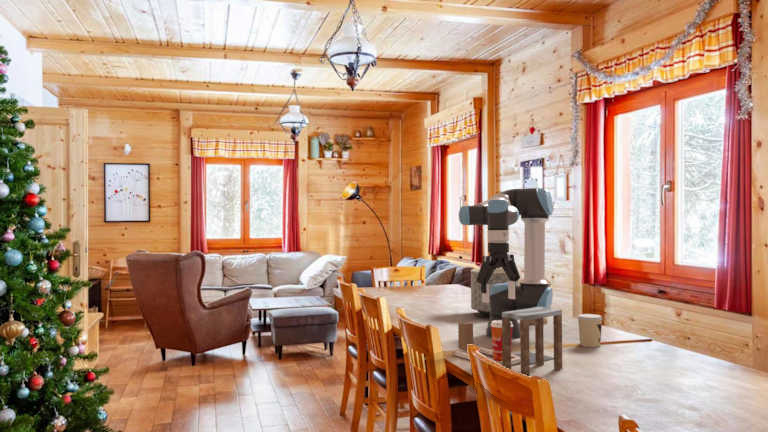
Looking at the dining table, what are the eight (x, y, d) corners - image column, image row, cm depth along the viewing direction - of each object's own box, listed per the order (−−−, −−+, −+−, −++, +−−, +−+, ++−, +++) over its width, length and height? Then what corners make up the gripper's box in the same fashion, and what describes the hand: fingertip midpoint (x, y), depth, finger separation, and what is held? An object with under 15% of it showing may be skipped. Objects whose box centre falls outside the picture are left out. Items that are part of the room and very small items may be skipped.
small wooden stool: (502, 372, 203) (501, 312, 203) (539, 363, 214) (538, 306, 214) (525, 378, 195) (524, 316, 195) (562, 369, 206) (561, 310, 206)
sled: (450, 354, 229) (450, 324, 229) (474, 349, 236) (473, 320, 236) (499, 367, 208) (499, 334, 208) (523, 361, 216) (523, 330, 215)
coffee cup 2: (604, 348, 237) (603, 317, 237) (579, 347, 239) (579, 317, 239) (600, 343, 246) (600, 313, 246) (576, 342, 248) (576, 313, 248)
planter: (522, 312, 322) (521, 268, 322) (516, 320, 298) (516, 273, 298) (475, 310, 330) (475, 267, 330) (467, 318, 307) (466, 272, 307)
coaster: (504, 357, 223) (504, 356, 223) (527, 352, 231) (527, 351, 231) (531, 364, 213) (531, 363, 213) (554, 358, 221) (554, 358, 221)
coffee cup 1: (487, 360, 219) (487, 320, 219) (509, 359, 220) (509, 319, 220) (494, 366, 211) (494, 324, 211) (517, 365, 212) (516, 323, 212)
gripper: (481, 243, 206) (481, 305, 206) (529, 241, 221) (530, 298, 221) (466, 242, 212) (466, 302, 212) (513, 240, 227) (514, 296, 227)
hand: (498, 300), depth 216 cm, fingers open, 13 cm apart
